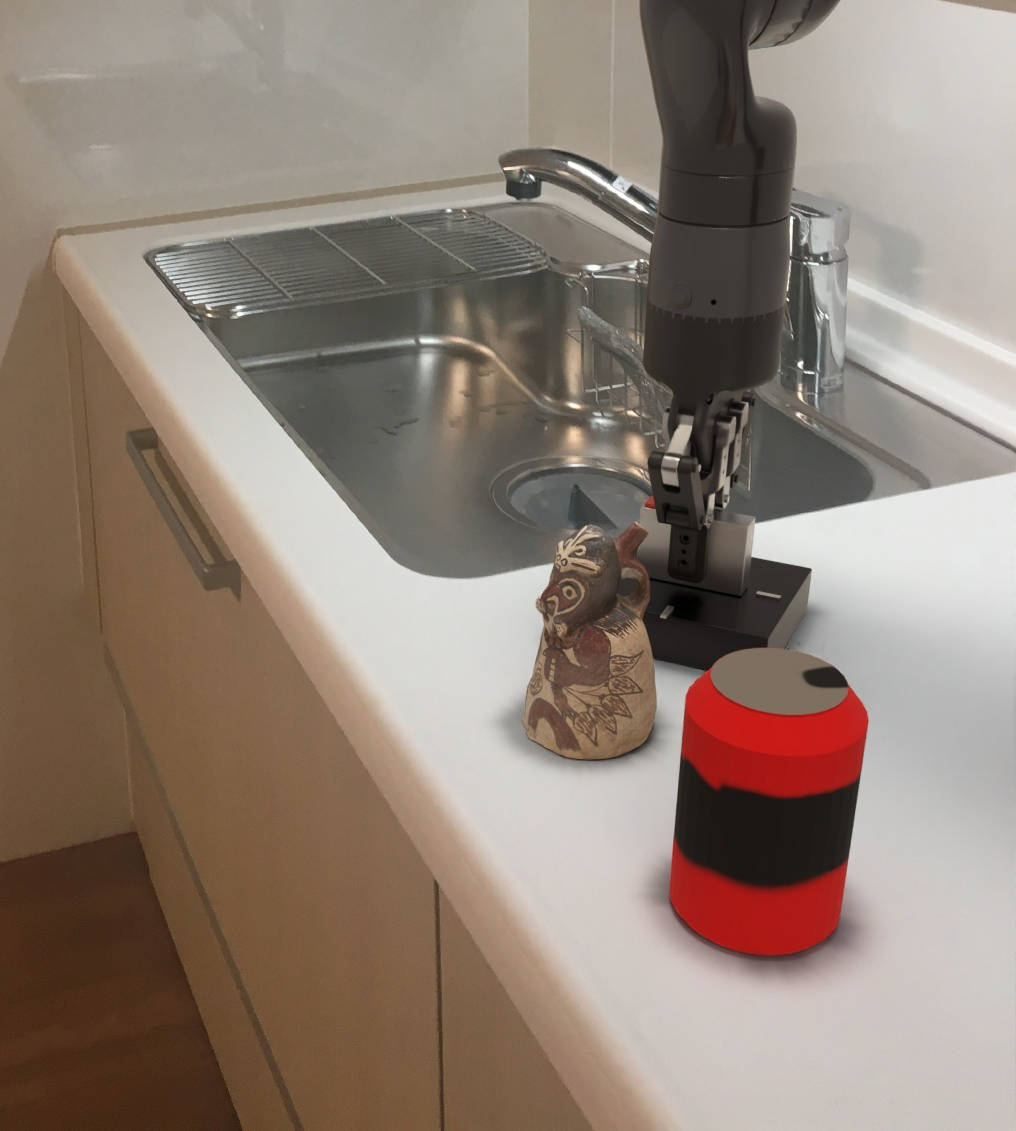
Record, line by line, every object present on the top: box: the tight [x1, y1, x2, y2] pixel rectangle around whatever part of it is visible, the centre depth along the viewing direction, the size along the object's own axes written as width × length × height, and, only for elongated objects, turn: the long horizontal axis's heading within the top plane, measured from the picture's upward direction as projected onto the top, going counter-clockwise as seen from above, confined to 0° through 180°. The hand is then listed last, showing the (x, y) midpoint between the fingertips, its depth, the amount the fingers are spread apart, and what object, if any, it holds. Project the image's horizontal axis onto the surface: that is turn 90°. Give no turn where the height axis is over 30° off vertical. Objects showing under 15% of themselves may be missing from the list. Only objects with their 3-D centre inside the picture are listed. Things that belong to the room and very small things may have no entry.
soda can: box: [668, 648, 870, 957], centre depth 68 cm, size 8×8×12 cm
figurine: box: [521, 521, 658, 760], centre depth 83 cm, size 7×7×12 cm
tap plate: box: [617, 548, 813, 671], centre depth 95 cm, size 12×11×3 cm
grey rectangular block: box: [637, 495, 756, 596], centre depth 93 cm, size 6×2×5 cm, turn 59°
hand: (692, 570), depth 94 cm, fingers closed on grey rectangular block
